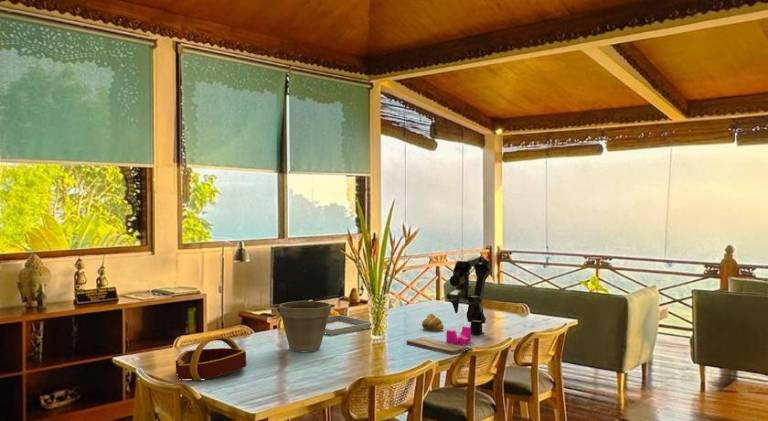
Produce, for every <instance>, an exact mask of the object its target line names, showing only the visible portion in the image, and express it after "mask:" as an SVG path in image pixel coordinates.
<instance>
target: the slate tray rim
mask: <svg viewBox="0 0 768 421" xmlns="http://www.w3.org/2000/svg"><path fill="white" fill-rule="evenodd" d="M336 321H339V322H340V321H341V322H345V323H351V324H354V325H348V326H343V327H337V328H333V329H331V328H327V327H326V328H325V332H324V333H326V334H325V335H327V334H329V335H328V336H331V335H332V336H335V335H334V334H337V335H341V334H340V333H343V334H346V332H348V333H352V331H353V332H358V331H357V330H359V331H363V330H362V329H364V330H368V329H367V328H369V329H371V328H370V326H371V323H370V320H366V319H365V320H364V319H361V318H356V317H351V316H346V315H343V314H342V315H341V314H336V315H329V316H328V320H327V323H330V322H336Z"/></svg>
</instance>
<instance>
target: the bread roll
mask: <svg viewBox="0 0 768 421" xmlns="http://www.w3.org/2000/svg"><path fill="white" fill-rule="evenodd" d="M421 327H422V328H423V329H424V330H428V331H437V332H438V331H443V329H444V324H443V322H442V320H441V319H440V318H439V317H437V316H435V314H433V313H429V314H428V315H427V316H426V317H425V319H423V321H422V322H421Z"/></svg>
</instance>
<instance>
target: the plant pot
mask: <svg viewBox="0 0 768 421" xmlns="http://www.w3.org/2000/svg"><path fill="white" fill-rule="evenodd" d="M278 306H279V307H278V309H279V310H278V311H279V316H280V317H281V320H282V326H283V328H284V332H285V335H286V336H285V337H286V339H287V345H288V348H289V350H290V349H291V351H292V350H294V351H293V352H296V351H311V352H315V351H314V350H316V351H319V350H320V349H321V346H322V342H323V338H324V335H325V334H324V332H325V328H327V327H326V326H327V324H328V322H327V320H328V317H329V316H331V312H332V311H331V310H332V304H331V303H329V302H325V301H315V300H301V301H297V300H296V301H290V302H282V303H280V304H279V305H278ZM319 348H320V349H319ZM318 349H319V350H318Z"/></svg>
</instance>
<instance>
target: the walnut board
mask: <svg viewBox="0 0 768 421" xmlns="http://www.w3.org/2000/svg"><path fill="white" fill-rule="evenodd" d="M406 345H411V346H415V347H419V348H423V349H428V350H433V351H434V352H440V353H444V354H448V355H455V354H459V353H463V352H462V351H464V350H466V349H469V348H470V347H469V346H466V345H463V346H461V345H456V344H453V343H447V342H446V341H442V340H437V339H434V338H428V337H424V336H423V337H418V338H413V339H407V340H406ZM464 352H465V351H464Z"/></svg>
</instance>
